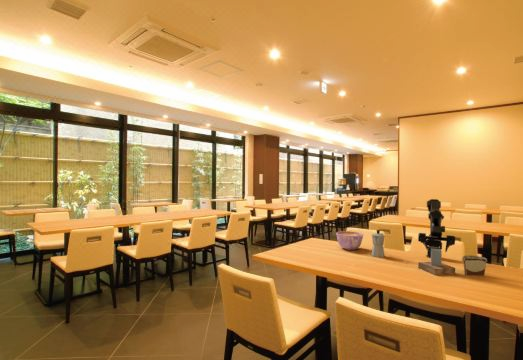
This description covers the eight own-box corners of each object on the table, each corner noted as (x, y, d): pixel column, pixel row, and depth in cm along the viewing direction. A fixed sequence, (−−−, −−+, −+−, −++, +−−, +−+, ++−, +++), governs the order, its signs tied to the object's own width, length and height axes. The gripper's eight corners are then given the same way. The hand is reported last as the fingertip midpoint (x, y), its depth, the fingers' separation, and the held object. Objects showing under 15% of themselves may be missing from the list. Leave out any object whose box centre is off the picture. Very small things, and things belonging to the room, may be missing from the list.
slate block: (430, 263, 171) (430, 248, 171) (440, 264, 169) (440, 249, 169) (431, 265, 167) (431, 249, 167) (441, 266, 164) (441, 250, 164)
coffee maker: (380, 258, 192) (381, 232, 192) (367, 256, 198) (368, 230, 198) (388, 254, 203) (389, 229, 203) (376, 252, 209) (376, 227, 209)
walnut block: (436, 267, 175) (437, 261, 175) (455, 274, 163) (455, 267, 163) (418, 268, 173) (418, 262, 173) (435, 276, 160) (435, 269, 160)
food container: (479, 272, 165) (480, 255, 165) (487, 276, 159) (487, 258, 159) (457, 271, 166) (457, 254, 166) (463, 275, 160) (463, 257, 160)
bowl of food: (359, 253, 206) (359, 237, 206) (332, 249, 217) (332, 234, 217) (366, 247, 223) (366, 233, 223) (340, 244, 234) (340, 230, 234)
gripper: (418, 219, 175) (418, 241, 166) (455, 222, 167) (457, 244, 157) (418, 230, 182) (418, 251, 173) (453, 233, 173) (455, 255, 164)
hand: (436, 250), depth 166 cm, fingers open, 9 cm apart
